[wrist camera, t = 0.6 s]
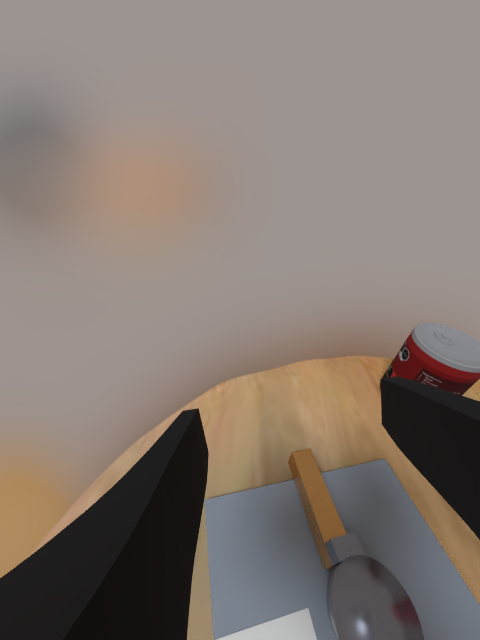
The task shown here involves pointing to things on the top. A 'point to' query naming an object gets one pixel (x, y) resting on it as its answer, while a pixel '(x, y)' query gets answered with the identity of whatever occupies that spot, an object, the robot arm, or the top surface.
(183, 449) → the robot arm
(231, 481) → the top surface
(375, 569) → the lever handle
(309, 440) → the top surface
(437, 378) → the canned food
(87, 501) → the top surface
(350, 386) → the top surface
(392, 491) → the base
